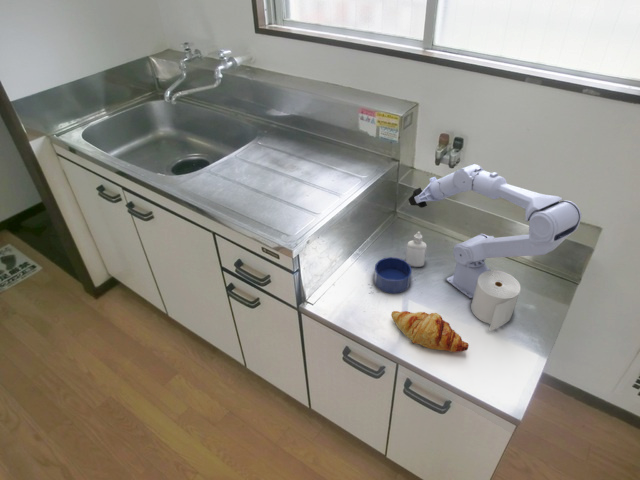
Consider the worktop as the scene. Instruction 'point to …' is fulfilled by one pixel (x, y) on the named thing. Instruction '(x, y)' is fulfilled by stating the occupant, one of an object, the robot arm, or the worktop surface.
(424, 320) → the croissant
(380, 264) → the blue bowl
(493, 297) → the toilet tissue
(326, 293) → the worktop surface
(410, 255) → the eye dropper bottle
